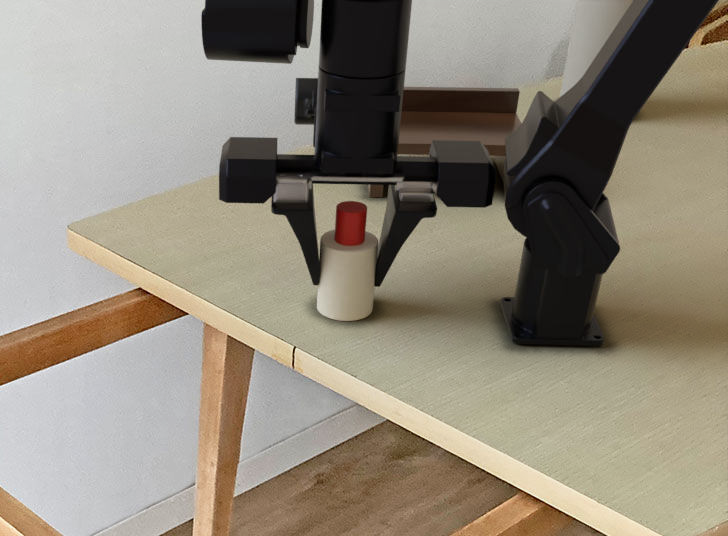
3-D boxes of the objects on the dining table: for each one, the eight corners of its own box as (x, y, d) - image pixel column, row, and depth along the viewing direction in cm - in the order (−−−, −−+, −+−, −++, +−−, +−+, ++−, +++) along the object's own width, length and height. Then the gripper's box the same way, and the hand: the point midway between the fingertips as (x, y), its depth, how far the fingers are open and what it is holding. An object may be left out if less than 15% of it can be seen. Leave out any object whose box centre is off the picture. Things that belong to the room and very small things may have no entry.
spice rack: (523, 200, 98) (536, 122, 94) (369, 197, 99) (375, 120, 95) (506, 160, 106) (518, 88, 102) (364, 158, 107) (369, 85, 103)
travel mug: (610, 127, 114) (650, -61, 103) (543, 111, 118) (575, -72, 107) (645, 110, 119) (688, -73, 108) (580, 94, 123) (614, -83, 112)
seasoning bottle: (373, 321, 80) (383, 219, 75) (317, 320, 80) (322, 217, 75) (370, 296, 83) (379, 196, 78) (316, 294, 83) (321, 194, 79)
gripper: (487, 35, 77) (459, 241, 86) (226, 32, 78) (227, 236, 87) (512, 82, 68) (478, 305, 78) (217, 78, 69) (219, 300, 78)
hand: (346, 283), depth 80 cm, fingers closed on seasoning bottle, 4 cm apart
